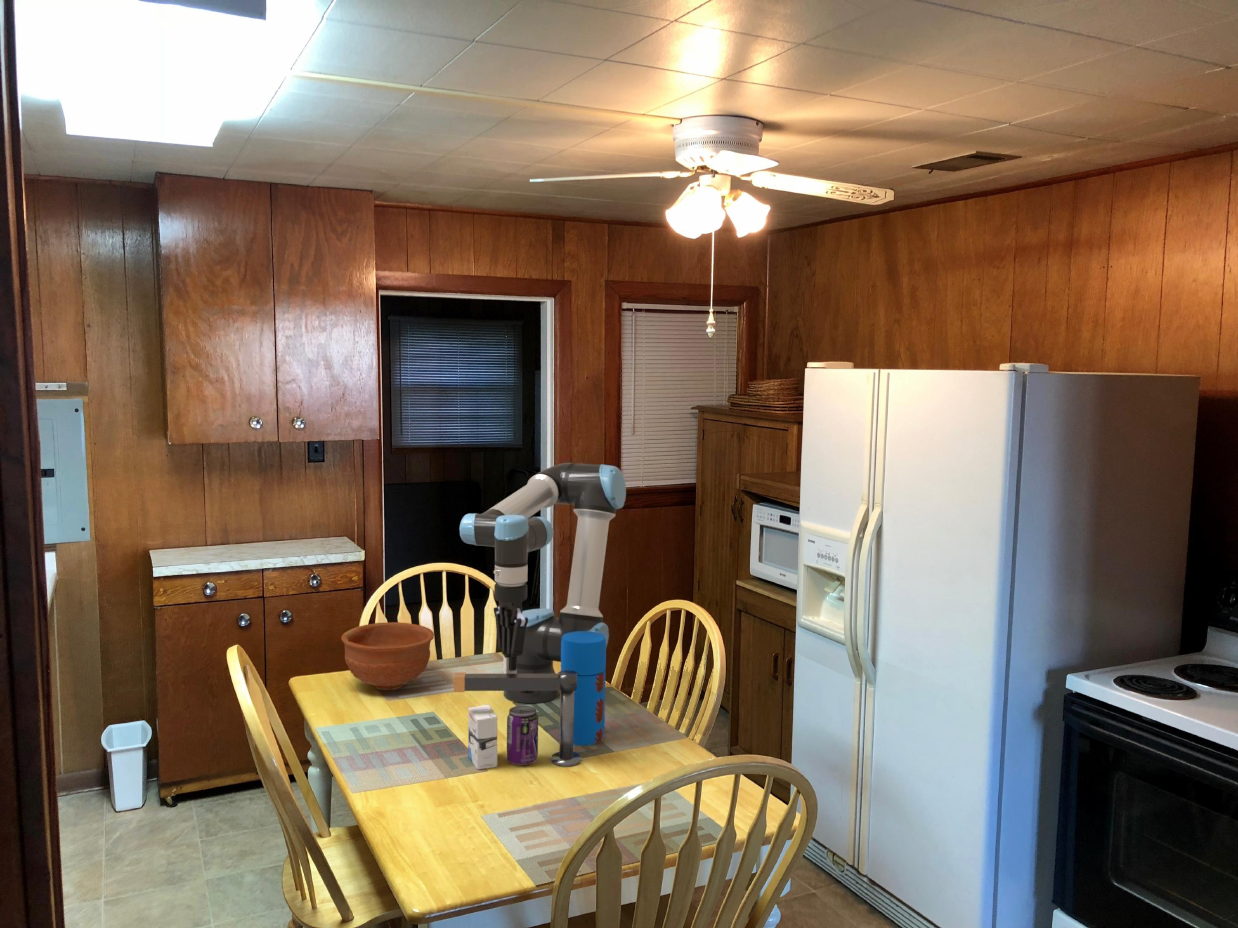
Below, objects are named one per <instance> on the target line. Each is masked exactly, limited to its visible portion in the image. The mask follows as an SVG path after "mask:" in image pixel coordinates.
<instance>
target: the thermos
mask: <svg viewBox="0 0 1238 928" xmlns="http://www.w3.org/2000/svg"><path fill="white" fill-rule="evenodd" d="M606 665H607V647H606V639H605V636H604V635H603V634H600V633H597V632H590V631H575V632H569V633H566V634H564V635H563V636H562V641H561V662H560V671H565V670H570V671H575V672H577V689H576V690H575V691H574V739H573V746H583V747H584V746H592V745H595V744H599V743H601V742H602V741H603V739H604V735H605V723H606V722H605V716H606V715H605V713H606V672H607V670H606V667H607V666H606Z"/></svg>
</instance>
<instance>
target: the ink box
mask: <svg viewBox="0 0 1238 928" xmlns="http://www.w3.org/2000/svg"><path fill="white" fill-rule="evenodd" d="M467 709H468V712H467V713H468V714H467V715H468V716H467V718H468V720H467V721H468V722H467V726H468V727H467V732H468V733H467V736H468V737H467V738H468V739H467V756H468V758H469V760H470V761H471V762H472V764H473V765H474V766H475V769H476V770H485V769H491V768H497V767H498V716H497V714H496V712H495V711H494V710H493V709H492V707H491V706H490V705H489V704H485V705H479V706H478V705H477V706H471V707H468V708H467Z"/></svg>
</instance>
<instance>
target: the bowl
mask: <svg viewBox="0 0 1238 928" xmlns="http://www.w3.org/2000/svg"><path fill="white" fill-rule="evenodd" d="M434 638H435V633H434V631H433V630H432V629H431V628H428V627H427V626H424V625H419V624H417V623H415V624H414V623H410V622H398V621H395V622H393V621H391V622H376V623H368V624H364V625H360V626H356V627H354V628H351V629H349V630H347V631H345V632H344V633H343V634H342V635H341V642H342V643H343V644H344V646H343V647H344V660H345V661H344V662H345V663H346V665H347V666H348V669H349V672H350V673H351V675H353V677H354V678H355V679H358V680H359V681H361V682H362V683H365V684H368V685H372V686H374V687H375V688H376V689H377V690H381V691H394V690H397V689H400V688H403V687H404V686H405V684H408V683H410V682H413V681H414V680H416V679H417V678H418V677H419V676H420V675H421V674H422V673H423V672H424V671H425V670H426V669H427V666H428V665H429V661H430V659H431V649H430V648H431V642H432V640H433V639H434Z"/></svg>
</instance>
